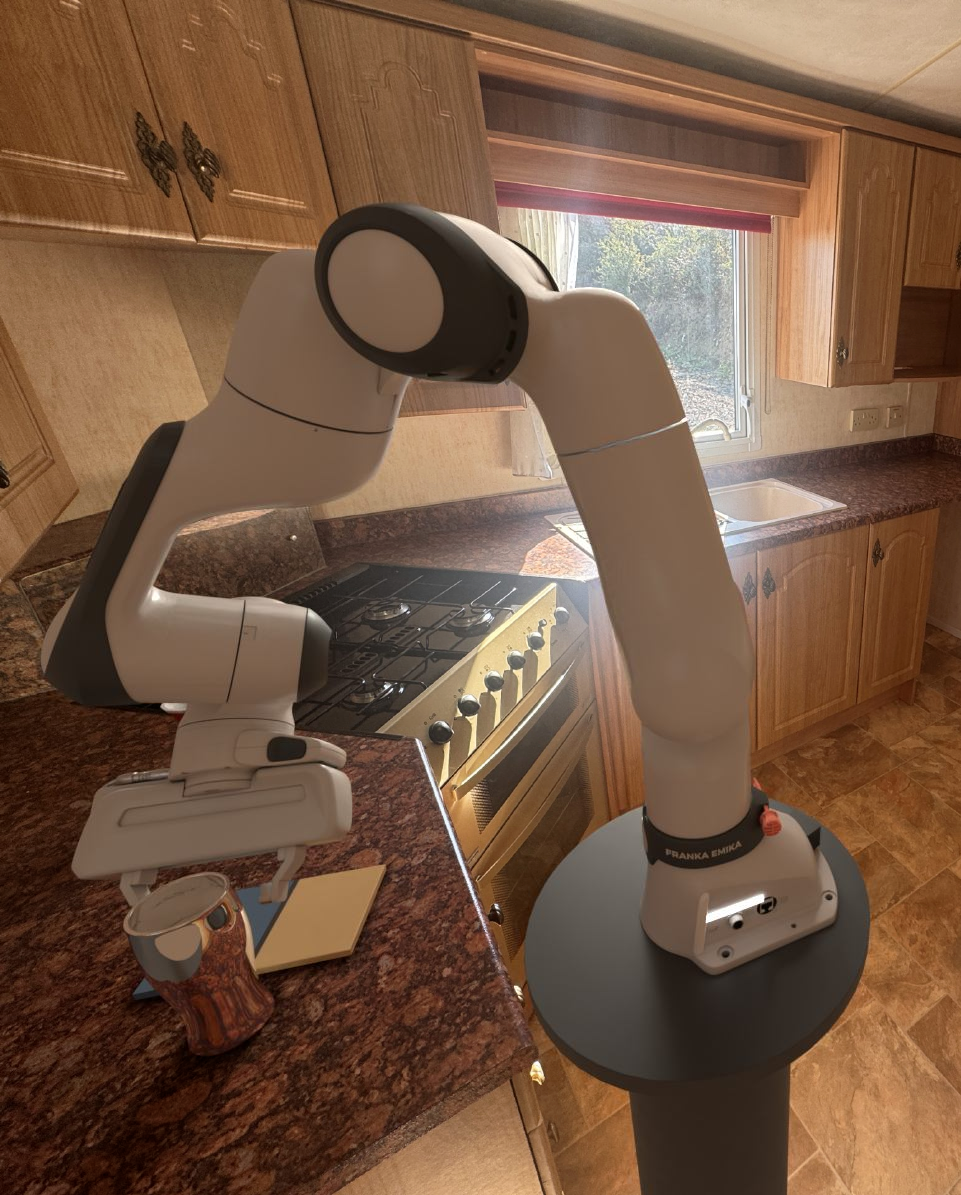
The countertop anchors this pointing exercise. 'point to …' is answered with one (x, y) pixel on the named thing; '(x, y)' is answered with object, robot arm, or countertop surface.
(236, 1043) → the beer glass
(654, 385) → the robot arm
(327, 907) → the sorting board
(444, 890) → the countertop surface
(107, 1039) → the countertop surface
